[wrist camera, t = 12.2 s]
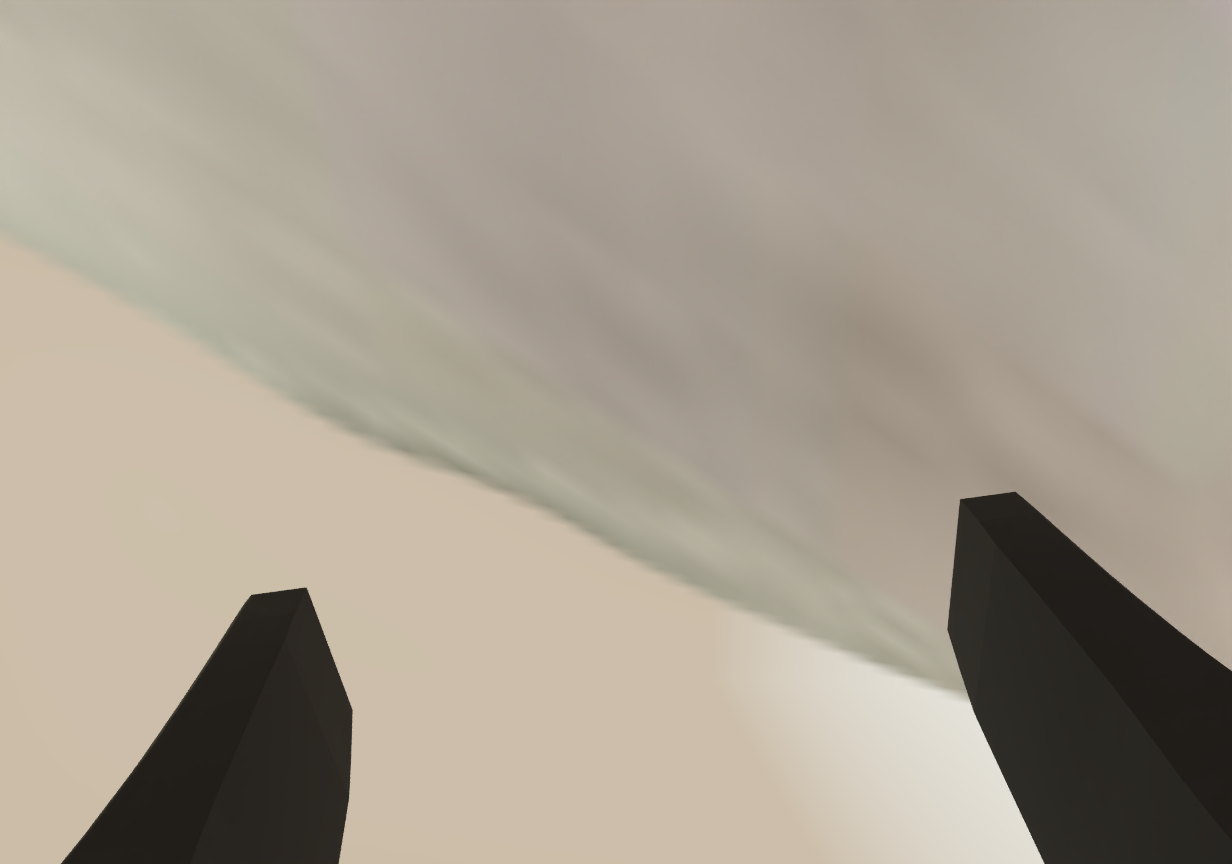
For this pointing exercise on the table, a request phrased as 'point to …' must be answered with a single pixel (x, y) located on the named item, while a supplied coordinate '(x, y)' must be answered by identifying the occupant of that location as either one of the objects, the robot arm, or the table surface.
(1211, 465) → the table surface
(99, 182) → the table surface
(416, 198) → the table surface
